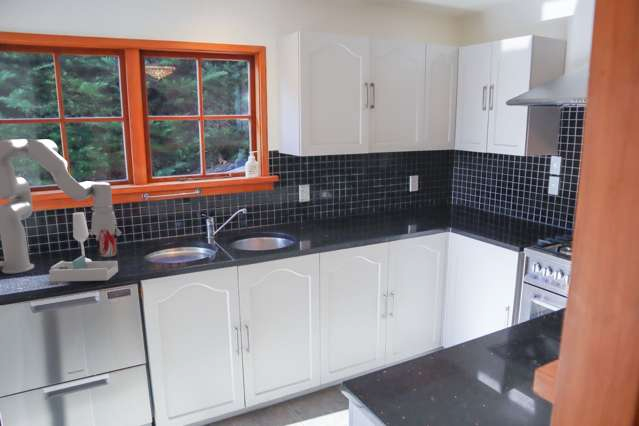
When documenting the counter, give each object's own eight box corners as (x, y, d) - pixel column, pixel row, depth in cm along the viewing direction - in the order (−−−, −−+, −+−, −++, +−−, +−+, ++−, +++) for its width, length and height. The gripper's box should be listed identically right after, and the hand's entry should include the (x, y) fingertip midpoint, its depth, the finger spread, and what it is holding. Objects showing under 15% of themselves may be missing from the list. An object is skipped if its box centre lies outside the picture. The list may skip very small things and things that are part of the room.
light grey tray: (50, 281, 199) (48, 268, 198) (64, 272, 211) (63, 259, 209) (107, 280, 200) (106, 266, 198) (118, 271, 211) (117, 258, 210)
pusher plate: (74, 276, 201) (72, 261, 199) (83, 270, 209) (81, 255, 207) (77, 276, 201) (75, 261, 199) (86, 270, 209) (84, 255, 207)
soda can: (112, 251, 221) (110, 225, 218) (119, 255, 216) (118, 227, 214) (97, 255, 215) (95, 227, 213) (104, 258, 211) (102, 230, 208)
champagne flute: (84, 263, 223) (78, 214, 218) (73, 262, 225) (67, 214, 220) (94, 259, 229) (89, 212, 225) (83, 258, 231) (78, 211, 227)
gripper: (80, 211, 208) (83, 250, 211) (119, 211, 208) (121, 250, 212) (88, 207, 215) (91, 246, 218) (125, 208, 216) (127, 246, 219)
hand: (106, 248), depth 215 cm, fingers closed on soda can, 4 cm apart
